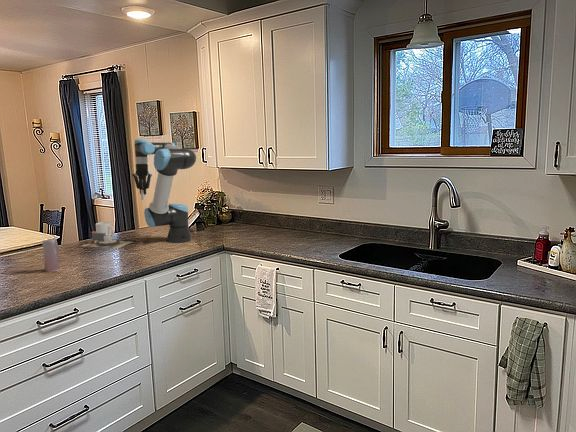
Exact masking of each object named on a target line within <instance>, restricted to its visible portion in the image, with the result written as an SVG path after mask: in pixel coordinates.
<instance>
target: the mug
mask: <svg viewBox="0 0 576 432" xmlns="http://www.w3.org/2000/svg"><path fill="white" fill-rule="evenodd" d="M95 232H97V233H106V235H112V237H113V236H114V235H115V229H114V227H113V226H111V223H110V222H108V221H101V222H97V223H95Z"/></svg>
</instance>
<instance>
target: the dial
mask: <svg viewBox="0 0 576 432" xmlns="http://www.w3.org/2000/svg"><path fill="white" fill-rule="evenodd" d="M112 237H113V236H112V235H111V234H110V235H106V233H97V232H96V231H91V240H94V241H99V243H114V242H117V240H112V239H113V238H112Z"/></svg>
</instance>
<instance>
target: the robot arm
mask: <svg viewBox="0 0 576 432" xmlns="http://www.w3.org/2000/svg"><path fill="white" fill-rule="evenodd" d="M149 155H154V156H153V166H154V168H155V170H156V172H157V178H156V183H155V187H154V193H153V198H152V201H151V202H150V203H149V205H148V207H146V208H145V209H144V210H143V211H144V212H143V213H144V218H145V222H146V225H147V227H154V228H155V227H163V226H169V230H168V233H167V237H166V239H167V242H169V243H187V242H190V241H192V240H191V239H193V237H192V233H191V232H190V229H189V210H188V209H189V208H188V206H187V205H185V204H180V203H169V199H170V193H171V188H172V184H173V179H174V176H176V175H177V174H178V170H187V169H188V170H189V169H190V168H192V167H193V166H194V165H195V164H196V162H197V156H196V155H197V154H196V152H194V151H193V150H192V149H189V148H187V147H186V148H181V147H179V146H176V145H175V143H174V142H170V141H168V142H148V141H147V139H135V140H134V158H135V159H134V162H135V172H134V173H132V177H133V179H134V183H135V186H136V189H138V190H139V194H140V200H144V201H145V200H146V195H147V190H149V189H150V184H151V178H152V177H153V174H152V173H150V172H149V165H148V161H149V160H148V159H149V158H148V156H149ZM189 240H190V241H189ZM186 241H187V242H186Z"/></svg>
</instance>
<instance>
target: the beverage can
mask: <svg viewBox="0 0 576 432" xmlns="http://www.w3.org/2000/svg"><path fill="white" fill-rule="evenodd" d="M57 244H58V241H57V239H56V238H46V239H43V240H42V252H43V263H44V265H43V266H44V270H45V272H48V273H49V272H50V273H51V272H56V271H58V270H59V269H60V267H59V264H60V263H59V255H58V245H57Z"/></svg>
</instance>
